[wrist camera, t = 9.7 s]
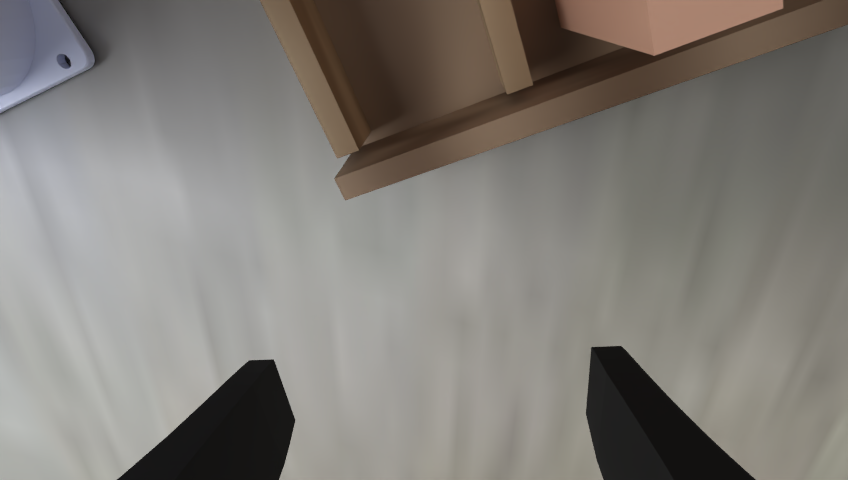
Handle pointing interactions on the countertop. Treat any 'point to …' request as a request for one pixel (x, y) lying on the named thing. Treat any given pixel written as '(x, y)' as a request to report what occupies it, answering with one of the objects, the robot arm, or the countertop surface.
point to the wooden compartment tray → (483, 73)
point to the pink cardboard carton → (658, 20)
